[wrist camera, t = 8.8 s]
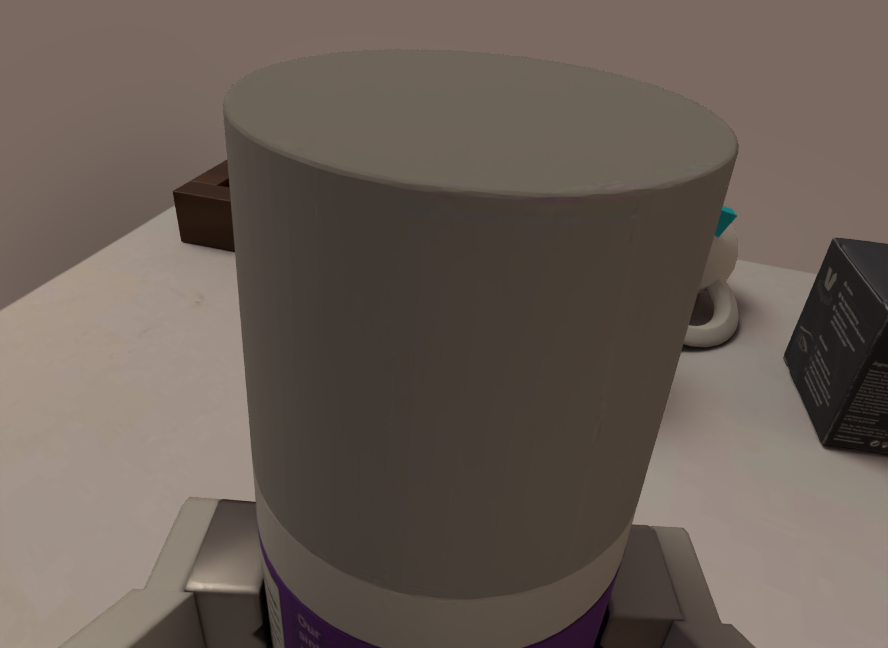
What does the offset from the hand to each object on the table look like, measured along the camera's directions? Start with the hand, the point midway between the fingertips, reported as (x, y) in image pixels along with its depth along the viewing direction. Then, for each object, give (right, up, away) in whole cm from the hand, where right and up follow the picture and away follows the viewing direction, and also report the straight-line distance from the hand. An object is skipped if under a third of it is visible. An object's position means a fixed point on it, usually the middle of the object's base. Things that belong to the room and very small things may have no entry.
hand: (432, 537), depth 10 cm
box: (+26, -2, +32) cm, 41 cm away
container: (-1, -7, +4) cm, 8 cm away
